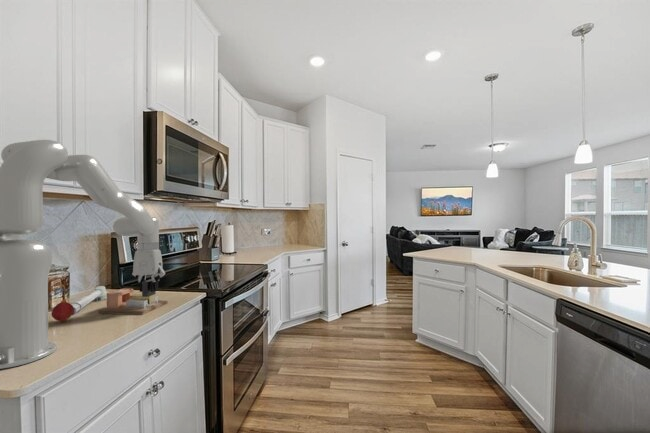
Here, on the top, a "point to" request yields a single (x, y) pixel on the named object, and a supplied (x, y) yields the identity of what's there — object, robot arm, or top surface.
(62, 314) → the onion
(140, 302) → the guide sleeve
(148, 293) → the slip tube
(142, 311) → the base board
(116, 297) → the socket block
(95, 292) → the white rod
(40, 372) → the top surface
